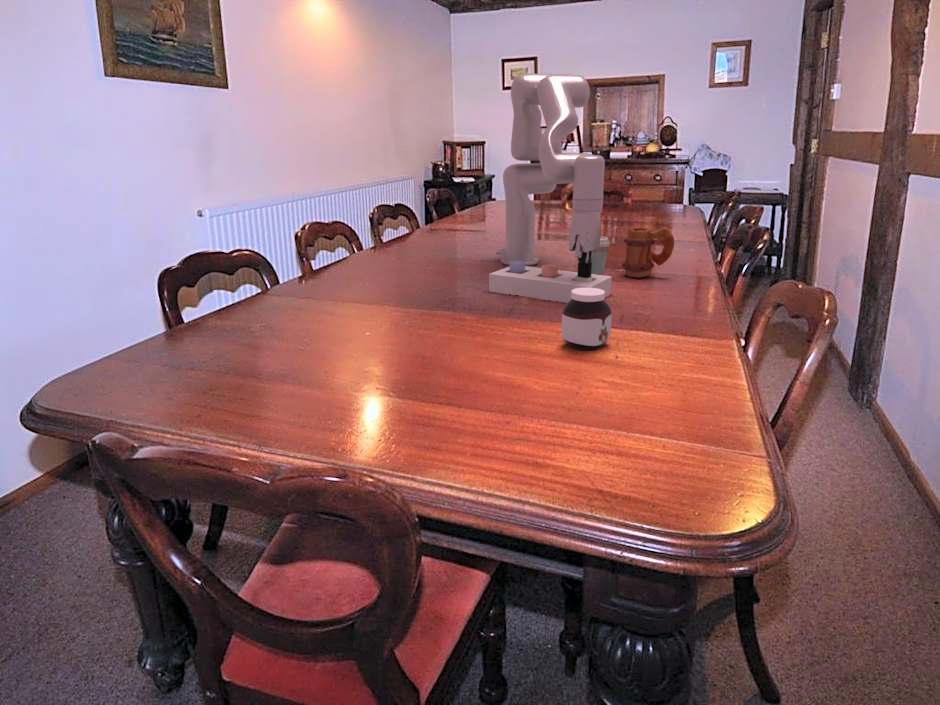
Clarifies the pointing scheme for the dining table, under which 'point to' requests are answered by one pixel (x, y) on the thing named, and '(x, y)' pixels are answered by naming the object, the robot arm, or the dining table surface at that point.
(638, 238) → the mug
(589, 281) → the sage button
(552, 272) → the orange rounded piece
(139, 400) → the dining table surface
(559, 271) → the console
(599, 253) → the coffee cup
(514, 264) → the slate button
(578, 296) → the spread jar
